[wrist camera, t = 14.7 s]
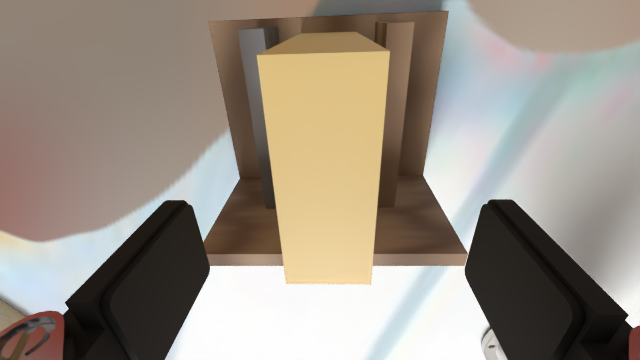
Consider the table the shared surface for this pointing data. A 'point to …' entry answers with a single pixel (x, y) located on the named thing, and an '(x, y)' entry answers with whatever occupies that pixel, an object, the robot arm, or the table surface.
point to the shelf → (397, 148)
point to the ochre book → (325, 151)
